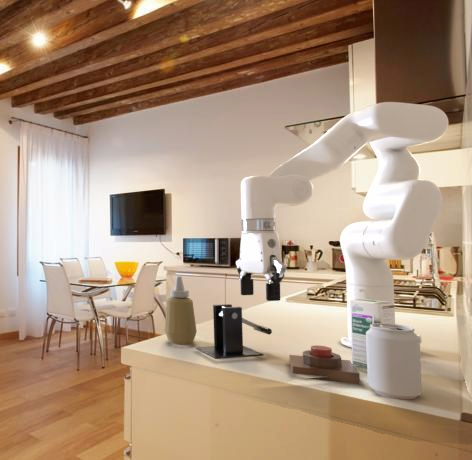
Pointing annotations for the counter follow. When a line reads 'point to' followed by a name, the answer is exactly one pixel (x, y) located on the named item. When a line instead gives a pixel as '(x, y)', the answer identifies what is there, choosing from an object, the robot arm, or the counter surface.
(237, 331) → the bracket
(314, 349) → the button
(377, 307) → the syrup box
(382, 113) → the robot arm
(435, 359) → the counter surface
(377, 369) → the can
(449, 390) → the counter surface
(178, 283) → the squeeze bottle
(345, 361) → the button block
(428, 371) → the counter surface
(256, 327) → the lever
